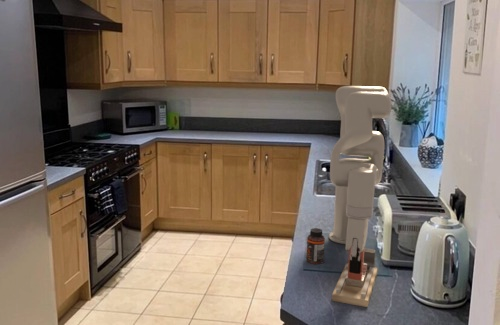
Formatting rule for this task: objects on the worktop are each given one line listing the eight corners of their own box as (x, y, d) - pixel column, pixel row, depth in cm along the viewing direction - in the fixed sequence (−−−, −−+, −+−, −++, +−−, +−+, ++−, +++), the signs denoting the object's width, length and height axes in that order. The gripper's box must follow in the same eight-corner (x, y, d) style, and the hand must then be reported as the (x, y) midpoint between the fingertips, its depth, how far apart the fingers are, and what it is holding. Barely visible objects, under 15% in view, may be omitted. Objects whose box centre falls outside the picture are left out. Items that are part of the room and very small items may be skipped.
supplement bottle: (303, 259, 169) (304, 227, 167) (318, 257, 171) (319, 226, 169) (311, 265, 164) (312, 233, 162) (326, 263, 166) (328, 231, 164)
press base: (346, 268, 162) (347, 245, 160) (377, 273, 159) (378, 250, 157) (331, 300, 140) (333, 274, 138) (367, 307, 137) (369, 280, 135)
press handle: (349, 273, 153) (352, 237, 150) (366, 276, 151) (368, 239, 149) (345, 284, 145) (347, 246, 143) (362, 287, 144) (365, 248, 141)
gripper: (350, 201, 150) (347, 258, 154) (341, 217, 135) (337, 279, 139) (376, 204, 148) (371, 262, 151) (369, 220, 132) (364, 283, 136)
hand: (355, 269), depth 145 cm, fingers closed on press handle, 3 cm apart
